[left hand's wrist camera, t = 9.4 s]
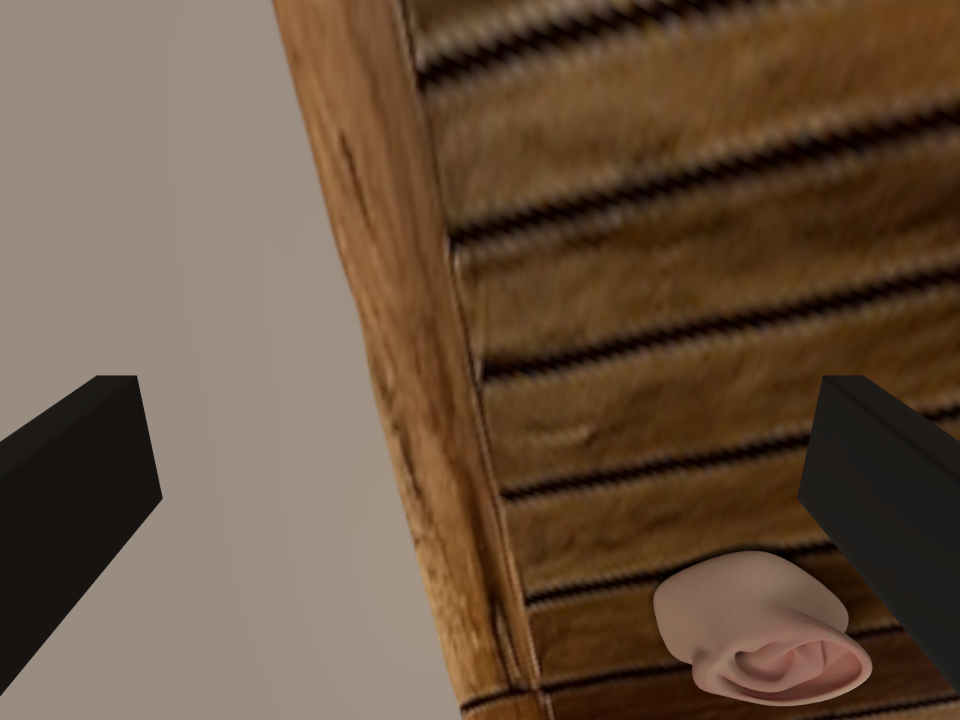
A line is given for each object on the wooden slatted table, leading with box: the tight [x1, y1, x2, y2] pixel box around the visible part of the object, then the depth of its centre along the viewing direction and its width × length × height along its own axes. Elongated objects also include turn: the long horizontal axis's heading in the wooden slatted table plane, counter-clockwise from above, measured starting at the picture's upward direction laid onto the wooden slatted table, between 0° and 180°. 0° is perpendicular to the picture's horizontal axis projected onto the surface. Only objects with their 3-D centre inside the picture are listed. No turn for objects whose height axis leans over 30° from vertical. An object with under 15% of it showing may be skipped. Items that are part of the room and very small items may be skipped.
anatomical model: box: [654, 551, 872, 706], centre depth 43 cm, size 13×4×12 cm
